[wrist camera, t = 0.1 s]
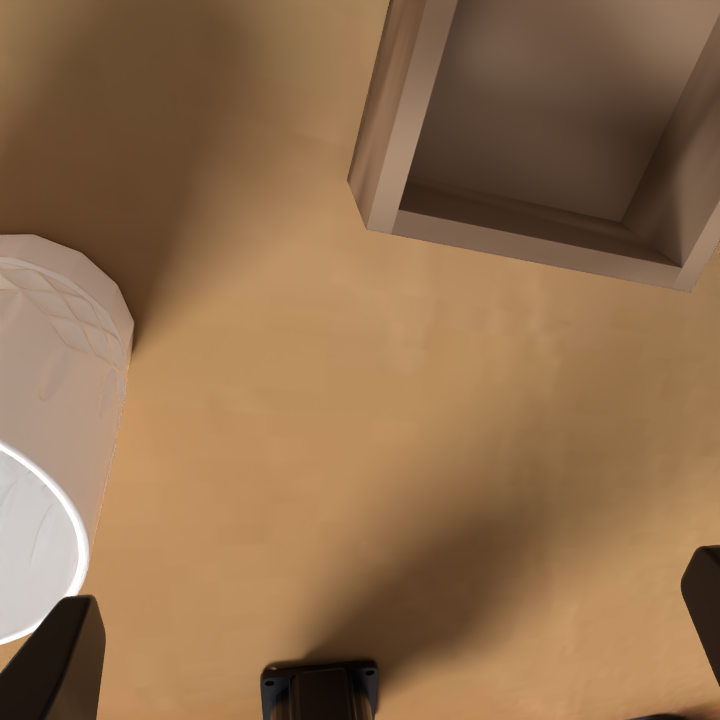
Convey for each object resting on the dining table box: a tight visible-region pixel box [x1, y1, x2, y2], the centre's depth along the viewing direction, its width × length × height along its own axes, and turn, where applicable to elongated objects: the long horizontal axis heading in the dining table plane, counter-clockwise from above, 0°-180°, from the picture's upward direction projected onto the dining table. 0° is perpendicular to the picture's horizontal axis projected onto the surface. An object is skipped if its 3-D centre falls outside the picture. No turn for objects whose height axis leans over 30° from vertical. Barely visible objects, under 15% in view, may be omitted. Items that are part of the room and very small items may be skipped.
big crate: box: [347, 0, 720, 293], centre depth 17 cm, size 10×10×4 cm
